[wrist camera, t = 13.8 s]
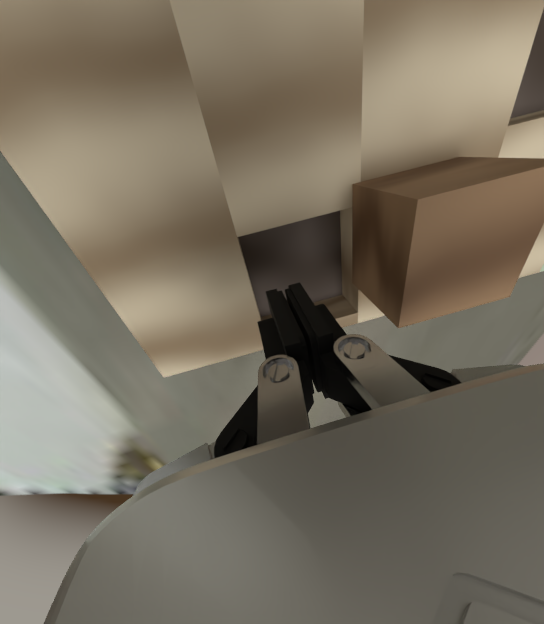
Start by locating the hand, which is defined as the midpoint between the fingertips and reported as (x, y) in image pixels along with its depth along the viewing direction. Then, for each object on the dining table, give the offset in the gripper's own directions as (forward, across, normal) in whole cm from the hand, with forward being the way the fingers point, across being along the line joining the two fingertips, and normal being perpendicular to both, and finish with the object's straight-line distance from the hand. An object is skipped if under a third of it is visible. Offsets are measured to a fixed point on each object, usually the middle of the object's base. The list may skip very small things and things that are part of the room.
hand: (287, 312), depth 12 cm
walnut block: (+4, -8, -1) cm, 9 cm away
